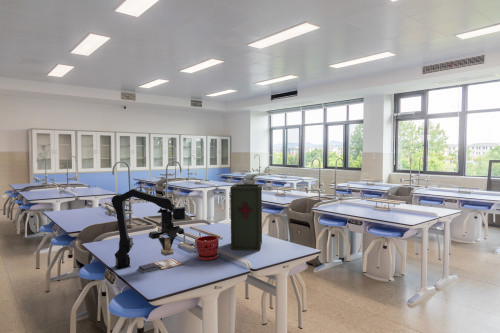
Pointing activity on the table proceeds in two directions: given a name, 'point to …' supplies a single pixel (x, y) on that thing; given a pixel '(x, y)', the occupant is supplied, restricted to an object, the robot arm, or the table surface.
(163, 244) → the robot arm
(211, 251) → the plant pot
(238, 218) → the first aid box
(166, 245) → the stamp
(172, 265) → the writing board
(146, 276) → the table surface
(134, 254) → the table surface
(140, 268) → the dark grey flat block
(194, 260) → the table surface
